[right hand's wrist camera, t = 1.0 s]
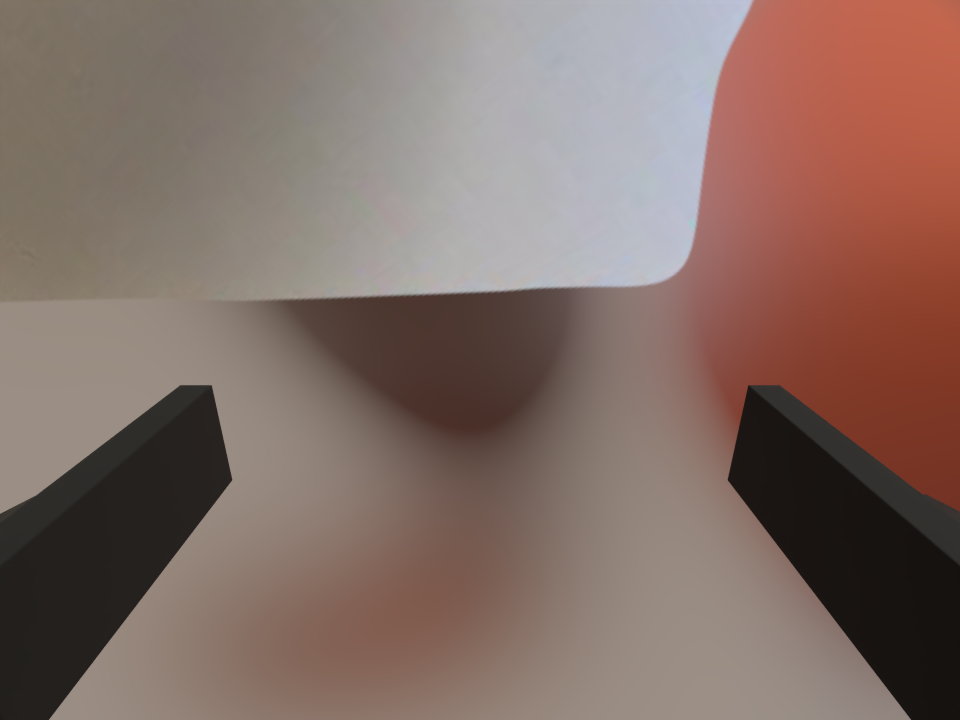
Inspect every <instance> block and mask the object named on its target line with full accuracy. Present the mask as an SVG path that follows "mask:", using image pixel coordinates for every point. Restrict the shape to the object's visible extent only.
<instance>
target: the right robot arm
mask: <svg viewBox="0 0 960 720" xmlns="http://www.w3.org/2000/svg"><path fill="white" fill-rule="evenodd" d="M231 481H232V477H231V472H230V468H229V463H228V458H227V454H226V449H225V444H224V440H223V435H222V431H221V426H220V422H219V417H218V412H217V408H216V403H215V398H214V394H213V389H212V386H211V385H180V386H179V387H178V388H176V389H175V390H174V391H172V392H171V393H170V394H168V395H167V396H166V397H165V398H163V399H162V400H161V401H159V402H158V403H157V404H155V405H154V406H153V407H151V408H150V409H149V410H148V411H146V412H145V413H144V414H142V415H141V416H140V417H138V418H137V419H136V420H134V421H133V422H132V423H131V424H129V425H128V426H127V427H125V428H124V429H123V430H121V431H120V432H119V433H117V434H116V435H115V436H114V437H112V438H111V439H110V440H108V441H107V442H106V443H104V444H103V445H102V446H100V447H99V448H98V449H97V450H95V451H94V452H93V453H91V454H90V455H89V456H87V457H86V458H85V459H83V460H82V461H81V462H80V463H78V464H77V465H76V466H74V467H73V468H72V469H70V470H69V471H68V472H66V473H65V474H64V475H63V476H61V477H60V478H59V479H57V480H56V481H55V482H53V483H52V484H51V485H50V486H48V487H47V488H46V489H44V490H43V491H42V492H40V493H39V494H38V495H36V496H34V497H32V498H30V499H29V500H27V501H25V502H23V503H21V504H19V505H17V506H15V507H13V508H11V509H9V510H7V511H5V512H3V513H1V514H0V720H49V719H50V717H51V716H52V715H53V714H54V712H55V711H56V710H57V708H58V707H59V706H60V704H61V703H62V702H63V701H64V699H65V698H66V697H67V695H68V694H69V693H70V691H71V690H72V689H73V687H74V686H75V685H76V684H77V682H78V681H79V680H80V678H81V677H82V676H83V674H84V673H85V672H86V670H87V669H88V668H89V667H90V665H91V664H92V663H93V661H94V660H95V659H96V657H97V656H98V655H99V653H100V652H101V651H102V650H103V648H104V647H105V646H106V644H107V643H108V642H109V640H110V639H111V638H112V636H113V635H114V634H115V633H116V631H117V630H118V629H119V627H120V626H121V625H122V623H123V622H124V621H125V620H126V618H127V617H128V616H129V614H130V613H131V612H132V610H133V609H134V608H135V606H136V605H137V604H138V602H139V601H140V600H141V599H142V597H143V596H144V595H145V593H146V592H147V591H148V589H149V588H150V587H151V585H152V584H153V583H154V582H155V580H156V579H157V578H158V576H159V575H160V574H161V572H162V571H163V570H164V568H165V567H166V566H167V565H168V563H169V562H170V561H171V559H172V558H173V557H174V555H175V554H176V553H177V552H178V550H179V549H180V548H181V546H182V545H183V544H184V542H185V541H186V540H187V538H188V537H189V536H190V535H191V533H192V532H193V531H194V529H195V528H196V527H197V525H198V524H199V523H200V521H201V520H202V519H203V517H204V516H205V515H206V514H207V512H208V511H209V510H210V508H211V507H212V506H213V505H214V503H215V502H216V501H217V499H218V498H219V497H220V495H221V494H222V493H223V491H224V490H225V489H226V487H227V486H228V485H229V484H230V482H231ZM728 481H729V482H730V484H731V485H732V486H733V488H734V489H735V490H736V491H737V493H738V494H739V495H740V497H741V498H742V499H743V501H744V502H745V503H746V504H747V506H748V507H749V508H750V510H751V511H752V512H753V514H754V515H755V516H756V517H757V519H758V520H759V521H760V523H761V524H762V525H763V527H764V528H765V529H766V531H767V532H768V533H769V535H770V536H771V537H772V538H773V540H774V541H775V542H776V544H777V545H778V546H779V548H780V549H781V550H782V552H783V553H784V554H785V555H786V557H787V558H788V559H789V561H790V562H791V563H792V564H793V566H794V567H795V569H796V570H797V571H798V572H799V574H800V575H801V576H802V578H803V579H804V580H805V582H806V583H807V584H808V586H809V587H810V588H811V589H812V591H813V592H814V593H815V595H816V596H817V597H818V599H819V600H820V601H821V603H822V604H823V605H824V606H825V608H826V609H827V610H828V612H829V613H830V614H831V616H832V617H833V618H834V620H835V621H836V622H837V623H838V625H839V626H840V627H841V629H842V630H843V631H844V632H845V634H846V635H847V636H848V638H849V639H850V640H851V642H852V643H853V644H854V646H855V647H856V648H857V650H858V651H859V652H860V653H861V655H862V656H863V657H864V659H865V660H866V661H867V663H868V664H869V665H870V667H871V668H872V669H873V670H874V672H875V673H876V674H877V676H878V677H879V678H880V680H881V681H882V682H883V683H884V685H885V686H886V687H887V689H888V690H889V691H890V693H891V694H892V695H893V697H894V698H895V699H896V701H897V702H898V703H899V704H900V706H901V707H902V708H903V710H904V711H905V712H906V714H907V715H908V716H909V718H910V719H911V720H960V512H959V511H958V510H956V509H954V508H952V507H950V506H948V505H946V504H944V503H942V502H940V501H938V500H936V499H934V498H932V497H930V496H928V495H922V494H921V493H920V492H918V491H917V490H916V489H914V488H913V487H912V486H910V485H909V484H908V483H907V482H905V481H904V480H903V479H901V478H900V477H899V476H898V475H896V474H895V473H894V472H892V471H891V470H890V469H888V468H887V467H886V466H884V465H883V464H882V463H880V462H879V461H878V460H876V459H875V458H874V457H873V456H871V455H870V454H869V453H867V452H866V451H865V450H863V449H862V448H861V447H860V446H858V445H857V444H856V443H854V442H853V441H852V440H850V439H849V438H848V437H846V436H845V435H844V434H843V433H841V432H840V431H839V430H837V429H836V428H835V427H833V426H832V425H831V424H829V423H828V422H827V421H826V420H824V419H823V418H822V417H820V416H819V415H818V414H816V413H815V412H814V411H812V410H811V409H810V408H809V407H807V406H806V405H805V404H803V403H802V402H801V401H799V400H798V399H797V398H795V397H794V396H793V395H791V394H790V393H789V392H788V391H786V390H785V389H784V388H782V387H781V386H780V385H749V386H748V390H747V394H746V398H745V403H744V408H743V412H742V417H741V421H740V426H739V431H738V435H737V440H736V445H735V449H734V454H733V458H732V463H731V467H730V472H729V477H728Z"/></svg>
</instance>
